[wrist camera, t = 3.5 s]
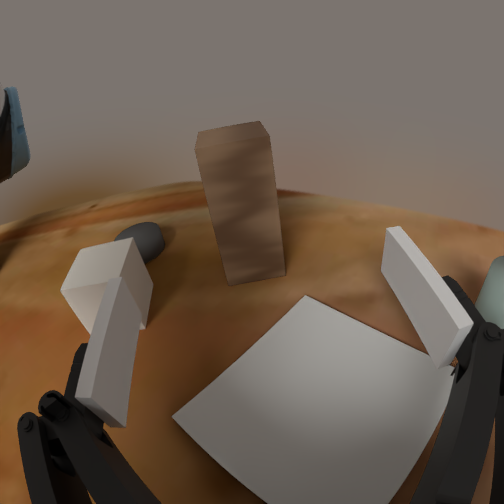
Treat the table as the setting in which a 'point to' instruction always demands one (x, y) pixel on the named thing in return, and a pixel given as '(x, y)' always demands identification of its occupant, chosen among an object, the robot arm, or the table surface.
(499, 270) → the sage green capsule
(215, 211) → the walnut block
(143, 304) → the cream cube
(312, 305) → the grey pad
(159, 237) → the dark grey pebble
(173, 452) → the table surface
